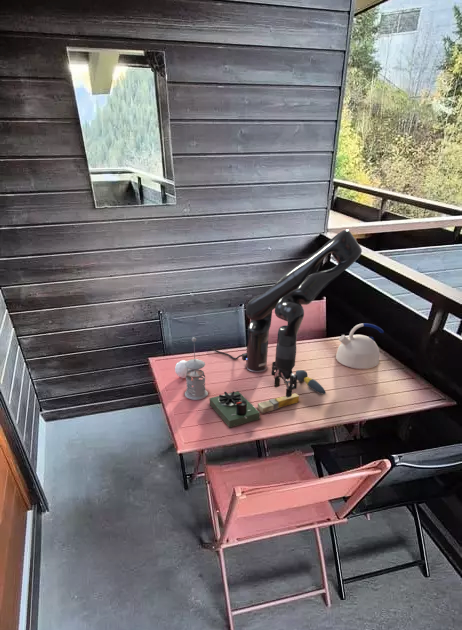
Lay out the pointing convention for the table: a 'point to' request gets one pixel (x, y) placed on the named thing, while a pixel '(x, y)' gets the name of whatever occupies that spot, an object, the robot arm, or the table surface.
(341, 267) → the robot arm
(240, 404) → the stove knob
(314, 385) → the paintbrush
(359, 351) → the kettle
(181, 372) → the ball
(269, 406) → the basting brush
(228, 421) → the stove
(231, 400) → the burner
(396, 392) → the table surface
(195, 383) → the french press
